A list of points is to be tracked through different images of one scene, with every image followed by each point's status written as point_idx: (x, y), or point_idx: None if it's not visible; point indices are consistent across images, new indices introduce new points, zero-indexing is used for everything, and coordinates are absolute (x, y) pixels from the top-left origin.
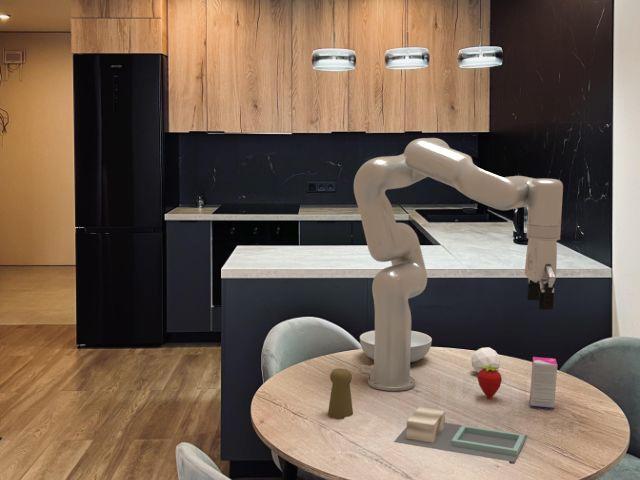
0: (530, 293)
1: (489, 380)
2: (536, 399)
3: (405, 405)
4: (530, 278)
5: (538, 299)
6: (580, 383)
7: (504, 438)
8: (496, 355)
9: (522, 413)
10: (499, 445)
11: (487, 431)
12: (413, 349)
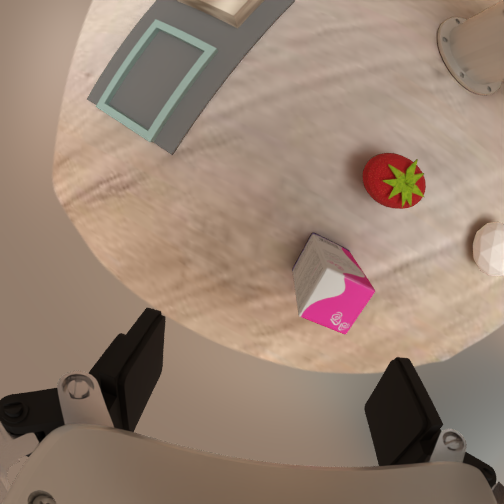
0: (399, 389)
1: (369, 164)
2: (308, 246)
3: (369, 17)
4: (249, 471)
5: (369, 400)
6: None
7: None
8: (491, 267)
9: (288, 201)
10: (140, 92)
11: (180, 83)
12: None
